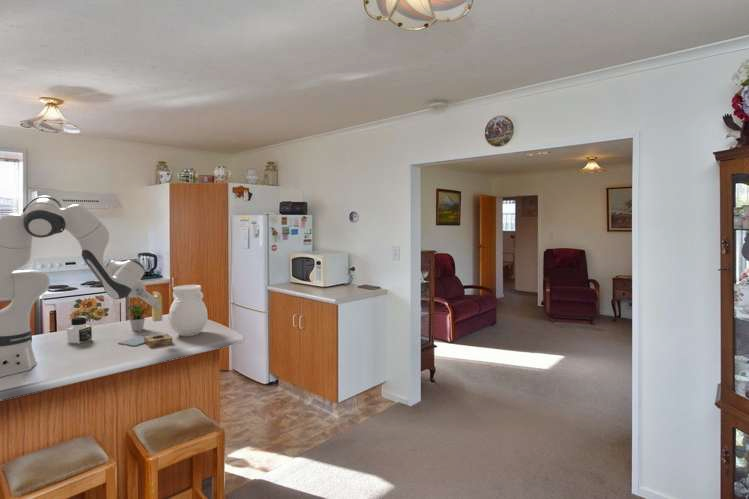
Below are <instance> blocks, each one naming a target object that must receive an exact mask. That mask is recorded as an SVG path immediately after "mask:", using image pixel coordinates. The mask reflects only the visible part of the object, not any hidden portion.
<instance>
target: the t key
mask: <svg viewBox="0 0 749 499" xmlns="http://www.w3.org/2000/svg"><path fill="white" fill-rule="evenodd" d="M152 296H154V297H155V298H156V299H157V300H158V303H159V304H160V305H161V307H160V308H157V307H156V306H151V314H152V315H151V316H152V318H151V320H152V322H156V323H157V322H163V297H162V295H161V293H160V292H158V291H157V290H156V291H152Z"/></svg>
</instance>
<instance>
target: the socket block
mask: <svg viewBox="0 0 749 499" xmlns="http://www.w3.org/2000/svg"><path fill="white" fill-rule="evenodd" d="M143 338H144V341H145V344H144V345H146V346H148V348H155V347H156V348H157V347H162V346H167V345H172V344H173V337H172V336H171V335H170V334H168V333H167V332H165V333H159V334H152V335H146V336H143Z"/></svg>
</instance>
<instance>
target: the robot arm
mask: <svg viewBox="0 0 749 499" xmlns="http://www.w3.org/2000/svg"><path fill="white" fill-rule="evenodd" d="M64 230H66V231H67V232H68V233H70V235H72V237H73V238H75V240H77V241H78V243H79V246H80V249H81V257H82V260H83V261H84V263H85V264H86V265H87V266H88V268H89V269H90V271H91V272H92V274H93V275H94V276H95V277H96V279H97V280H98V281H99V283H100V284H101V286H102V288H103V290H104V292H105V293H106V295H108V296H109V297H110V298H111V299H115V300H121V299H125V298H127V297H129V298H136V299H137V298H139V299H141V300H142V301H143V302H146V304H147V303H148V304H147V305H149V306H151V307H152V306H156V307H157V308H160V307H161V305H160V304H159V303H158V300H157V299H156V298H155V297H154V296H153V294H151V293H150V292H148V291H147V287H146V286H145V285H146V282H144V281H143V280H142V278H143V276H144V274H145V273H146V271H145V268H144V265H143V264H142V263H141V262H140V261H138V260H136V259H128V260H125V261H117V260H115V259H111V260H110V261H108V263H106V264H105V262H104V255H105V251H106V248H107V246H108V244H109V240H110V233H109V232H110V231H109V230H108V228H107V227H106V225H105V224H103V222H102V221H101V220H100V219H99V218H98V217H97V216H96V215H94V214H93V213H92V212H91V211H89V210H88V209H87V208H86V207H84V206H83V205H80V204H71V205H69V206H66V207H62V205H61V203H60V201H59V200H57V199H56V198H54V197H53V196H49V195H40V196H37V197H34V198H33V199H32V200H30V202H28V204H27V205H26V206H25V207H24V208H23V209H22V213H19V214H18V213H9V214H5V215H2V216H1V217H0V301H3V300H9V299H10V300H11V302H10V303H9V304H8V305H6V306H5V307H3V308H1V309H0V378H1V377H5V376H10V375H15V374H19V373H23V372H27V371H30V370H32V369H33V368H34V366H36V365H37V364H38V361H37V360H36V358H35V354H34V351H33V346H32V343H33V334H32V329H31V311H32V308H33V306H34V304H35V302H36V301H37V300H38V299H39V297H41V296H42V295H43V294H44V293H46V292H47V290H49V287H50V285H51V282H50V281H51V280H50V277H49V276H48V274H47V273H46V272H45V271H43V270H37V269H21V270H18V269H20V268H22V267H24V266H26V265H27V264H28V263H29V261H30V259H31V255H32V245H33V237H34V238H41V239H42V238H48V237H51V236H54V235H56V234H60V233H63V232H64Z"/></svg>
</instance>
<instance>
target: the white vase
mask: <svg viewBox="0 0 749 499" xmlns="http://www.w3.org/2000/svg"><path fill="white" fill-rule="evenodd" d="M172 289H173V292H172V297H173V301H172V303H171V305H170V308H169V312H168V321H169V325H170V327H171V329H172V330H173V331H174V332H175V333H177V335H179V336H180V337H193V336H197V335H199V334H200V333H201V331H203V330H204V328H205V326H206V325H207V322H208V320H209V319H208V318H209V315H208V308H207V306H206V304H205V302H204V301H203V298H204V293H203V292H202V285H200V284H184V285H177V286H174V287H173V288H172Z"/></svg>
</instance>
